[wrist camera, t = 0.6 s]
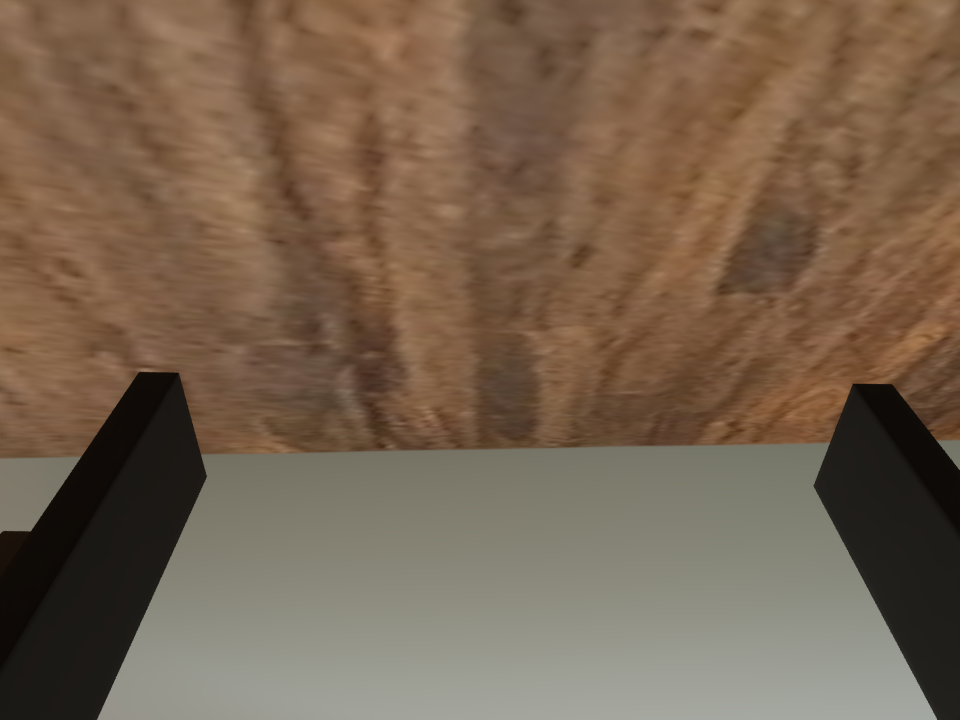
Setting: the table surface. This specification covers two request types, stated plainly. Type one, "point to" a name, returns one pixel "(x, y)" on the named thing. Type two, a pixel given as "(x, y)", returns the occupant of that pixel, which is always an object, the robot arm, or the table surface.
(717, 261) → the table surface
